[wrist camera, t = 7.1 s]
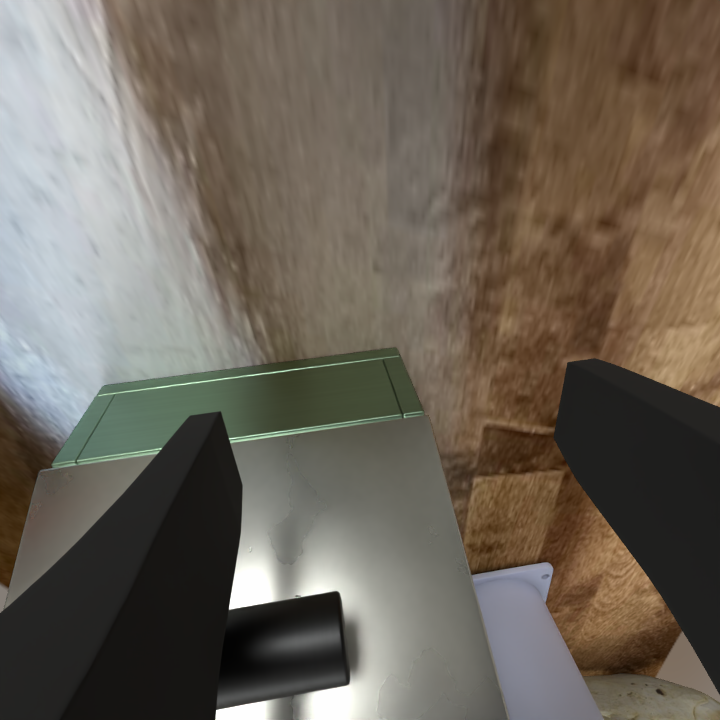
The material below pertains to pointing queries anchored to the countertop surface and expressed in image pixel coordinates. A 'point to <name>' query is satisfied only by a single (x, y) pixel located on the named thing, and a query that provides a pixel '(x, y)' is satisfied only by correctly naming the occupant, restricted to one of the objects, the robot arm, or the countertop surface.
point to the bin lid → (321, 576)
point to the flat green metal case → (244, 404)
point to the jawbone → (649, 699)
